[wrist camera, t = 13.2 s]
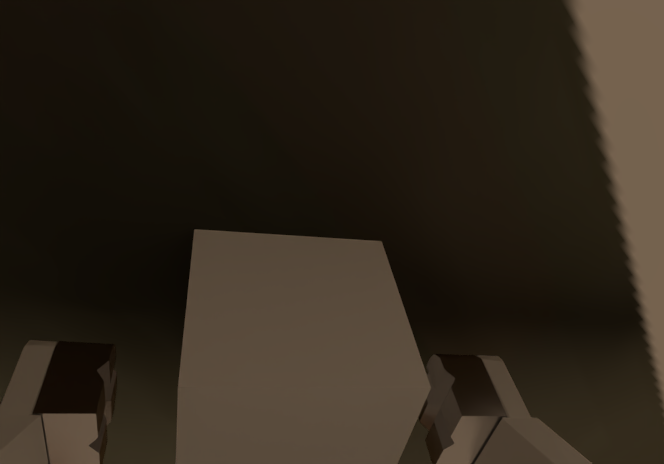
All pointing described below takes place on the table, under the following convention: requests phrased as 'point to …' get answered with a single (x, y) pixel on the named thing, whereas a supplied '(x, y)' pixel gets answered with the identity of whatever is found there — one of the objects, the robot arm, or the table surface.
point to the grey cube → (295, 353)
